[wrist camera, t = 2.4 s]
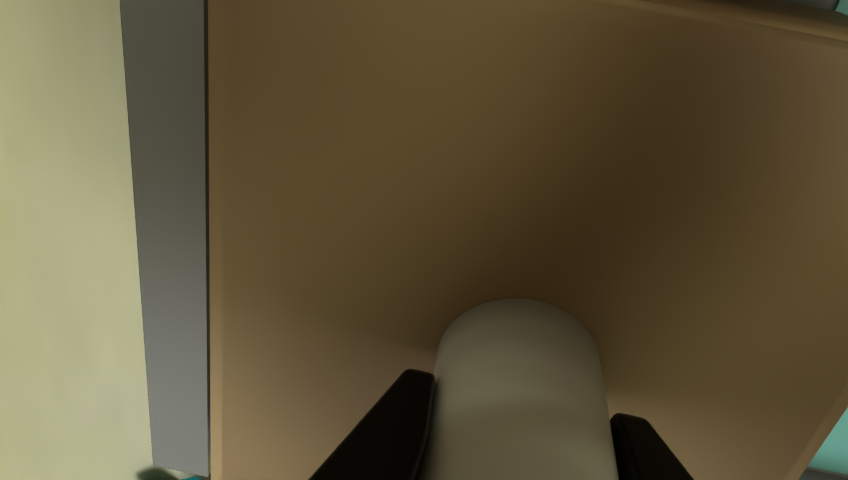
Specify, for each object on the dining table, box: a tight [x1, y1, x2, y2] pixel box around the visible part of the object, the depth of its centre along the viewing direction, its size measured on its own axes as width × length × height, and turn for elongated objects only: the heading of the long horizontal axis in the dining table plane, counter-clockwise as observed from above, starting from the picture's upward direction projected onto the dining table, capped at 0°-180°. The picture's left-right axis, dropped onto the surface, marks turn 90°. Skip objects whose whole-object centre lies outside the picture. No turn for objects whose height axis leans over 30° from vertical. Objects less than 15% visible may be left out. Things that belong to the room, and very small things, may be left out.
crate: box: [208, 0, 848, 480], centre depth 10 cm, size 9×10×9 cm
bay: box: [120, 0, 848, 480], centre depth 13 cm, size 20×14×5 cm
